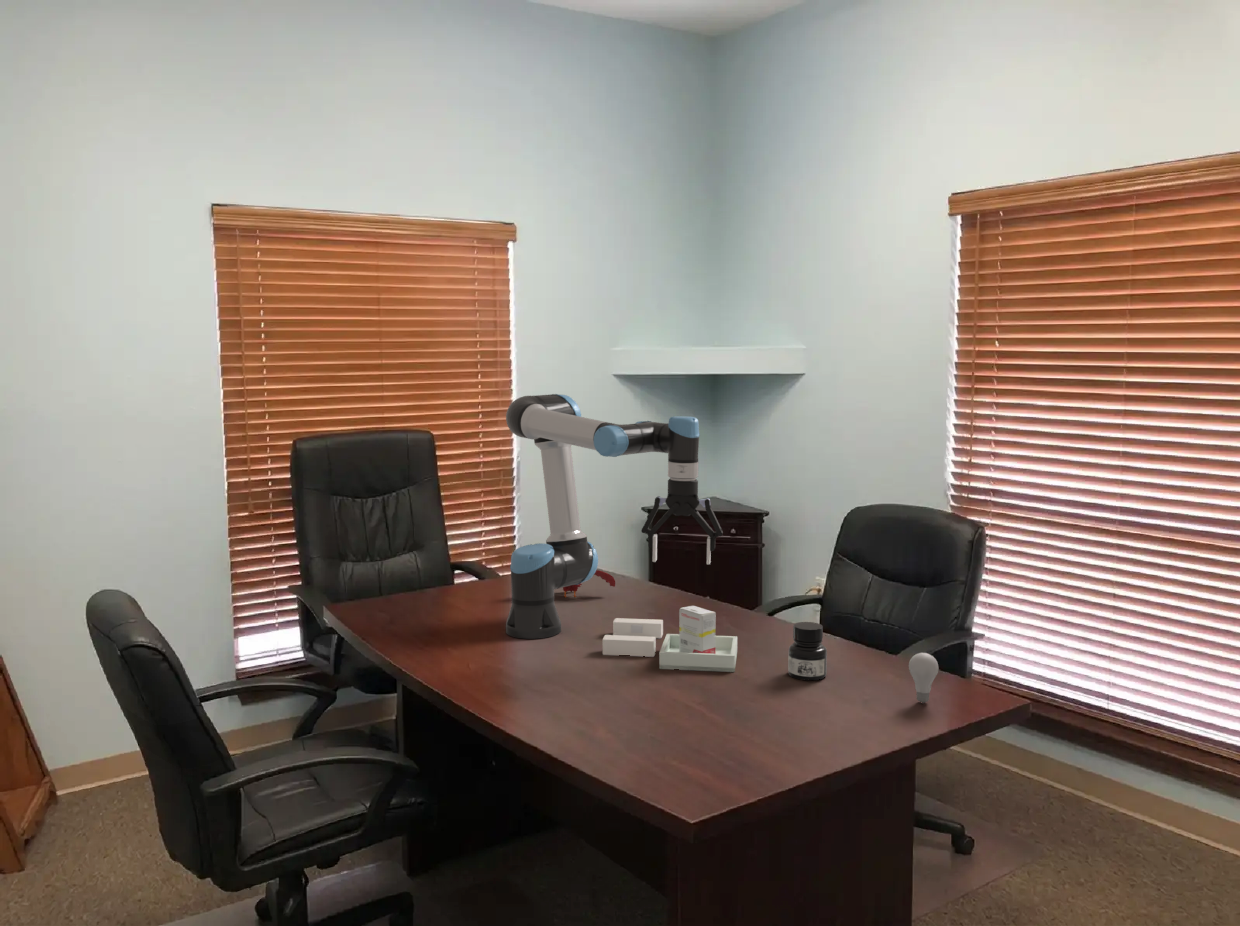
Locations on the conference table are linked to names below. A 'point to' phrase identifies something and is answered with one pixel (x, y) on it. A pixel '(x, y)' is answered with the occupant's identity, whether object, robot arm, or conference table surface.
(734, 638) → the pale green tray
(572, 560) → the robot arm
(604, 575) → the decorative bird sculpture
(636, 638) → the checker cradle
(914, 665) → the lightbulb
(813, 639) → the ink bottle
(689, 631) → the ink box
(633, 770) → the conference table surface
